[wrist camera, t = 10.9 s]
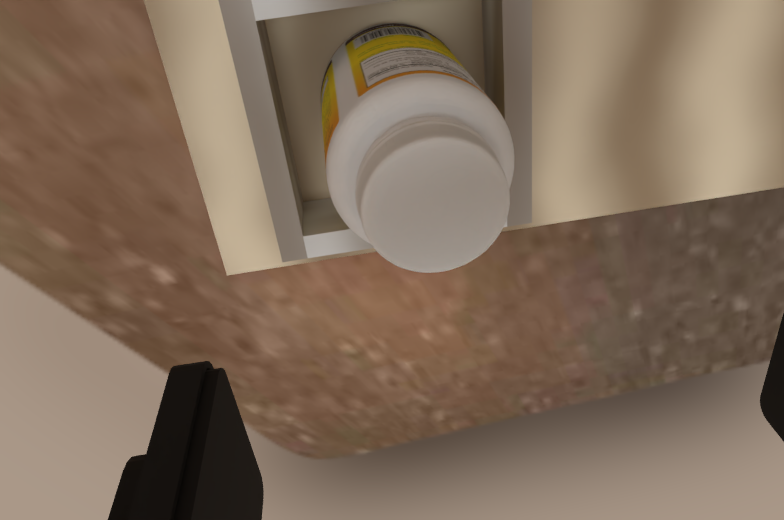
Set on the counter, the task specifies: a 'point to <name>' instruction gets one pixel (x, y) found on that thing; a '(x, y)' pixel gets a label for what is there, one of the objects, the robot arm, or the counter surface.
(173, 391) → the robot arm
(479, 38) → the socket base
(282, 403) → the counter surface
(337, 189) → the supplement bottle
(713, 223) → the counter surface
